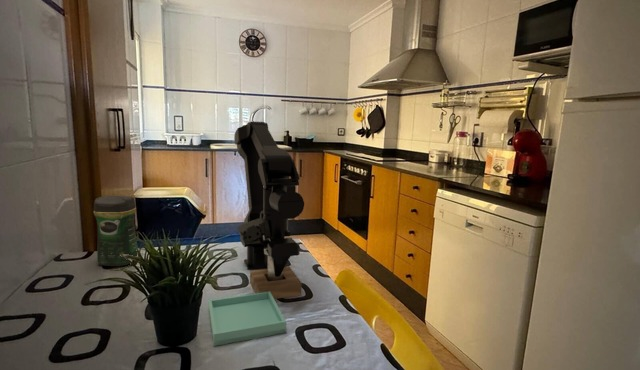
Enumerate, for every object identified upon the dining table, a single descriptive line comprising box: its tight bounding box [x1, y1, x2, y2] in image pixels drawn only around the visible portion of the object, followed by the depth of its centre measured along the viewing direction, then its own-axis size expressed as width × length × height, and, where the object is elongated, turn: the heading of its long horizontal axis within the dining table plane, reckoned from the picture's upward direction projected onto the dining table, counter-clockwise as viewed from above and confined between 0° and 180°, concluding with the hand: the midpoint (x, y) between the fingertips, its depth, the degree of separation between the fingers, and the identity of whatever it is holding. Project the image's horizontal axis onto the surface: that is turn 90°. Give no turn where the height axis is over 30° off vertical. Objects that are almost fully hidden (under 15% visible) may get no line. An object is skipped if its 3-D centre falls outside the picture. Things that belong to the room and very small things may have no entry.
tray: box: [207, 291, 287, 347], centre depth 69 cm, size 13×13×2 cm
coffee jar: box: [93, 195, 139, 267], centre depth 95 cm, size 10×8×19 cm
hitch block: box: [249, 266, 302, 300], centre depth 83 cm, size 10×10×3 cm
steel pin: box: [264, 246, 283, 282], centre depth 82 cm, size 5×5×10 cm
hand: (275, 272), depth 83 cm, fingers closed on steel pin, 4 cm apart
